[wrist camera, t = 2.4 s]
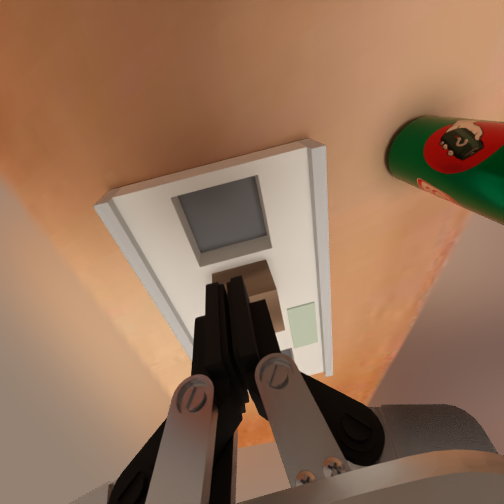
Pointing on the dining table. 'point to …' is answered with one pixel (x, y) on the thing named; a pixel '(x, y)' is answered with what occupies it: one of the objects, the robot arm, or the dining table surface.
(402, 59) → the dining table surface
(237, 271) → the walnut block
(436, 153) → the soda can
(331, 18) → the dining table surface
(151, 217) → the box
